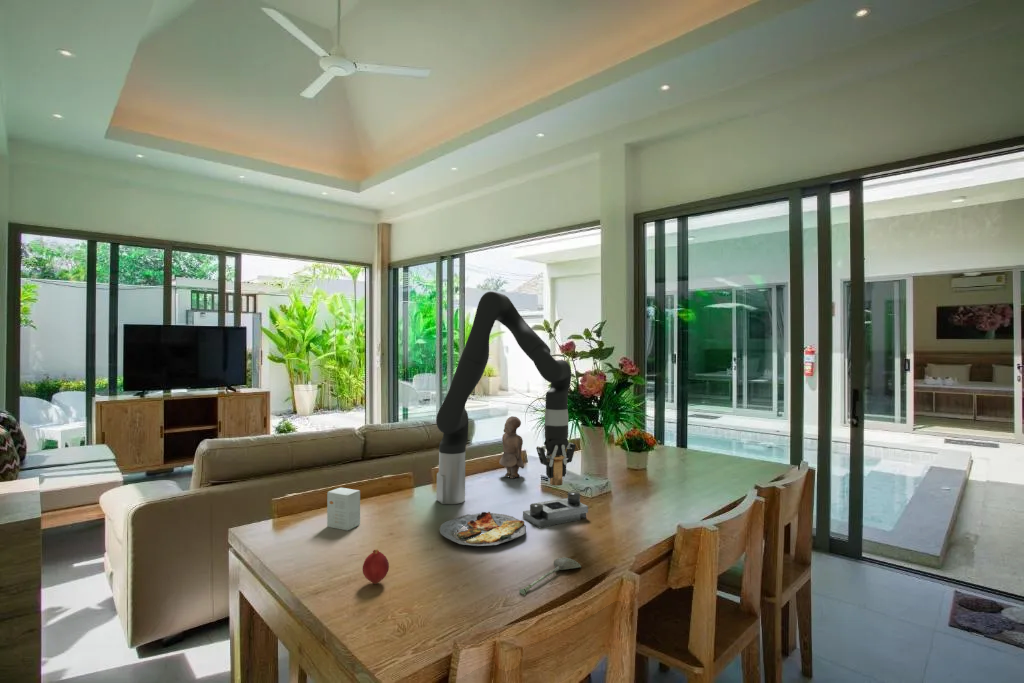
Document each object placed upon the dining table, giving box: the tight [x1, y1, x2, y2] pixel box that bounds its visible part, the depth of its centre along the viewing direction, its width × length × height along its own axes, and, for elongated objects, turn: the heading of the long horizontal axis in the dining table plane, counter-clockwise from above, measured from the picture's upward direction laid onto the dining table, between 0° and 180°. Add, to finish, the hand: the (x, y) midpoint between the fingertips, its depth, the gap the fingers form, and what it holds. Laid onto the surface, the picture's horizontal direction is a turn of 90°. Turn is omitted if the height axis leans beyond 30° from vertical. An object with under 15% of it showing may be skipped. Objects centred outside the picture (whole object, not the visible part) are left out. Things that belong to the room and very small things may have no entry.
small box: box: [326, 486, 361, 531], centre depth 154 cm, size 8×6×10 cm
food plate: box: [439, 511, 527, 548], centre depth 149 cm, size 25×23×4 cm
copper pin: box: [549, 455, 565, 487], centre depth 163 cm, size 5×5×9 cm
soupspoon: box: [519, 557, 582, 596], centre depth 122 cm, size 22×3×7 cm
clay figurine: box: [498, 416, 525, 479], centre depth 212 cm, size 13×10×25 cm
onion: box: [362, 548, 390, 585], centre depth 118 cm, size 6×6×8 cm
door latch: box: [522, 491, 589, 528], centre depth 163 cm, size 18×10×7 cm, turn 118°
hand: (556, 476), depth 163 cm, fingers closed on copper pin, 4 cm apart
